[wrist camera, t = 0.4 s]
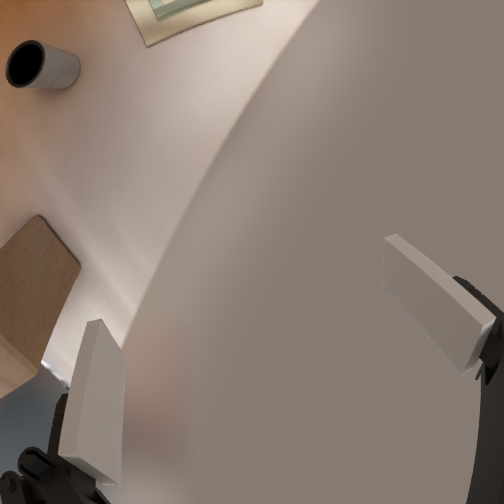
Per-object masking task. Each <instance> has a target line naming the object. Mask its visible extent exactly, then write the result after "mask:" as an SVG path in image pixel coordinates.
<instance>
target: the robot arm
mask: <svg viewBox="0 0 504 504" xmlns="http://www.w3.org/2000/svg"><path fill="white" fill-rule="evenodd" d="M382 266H383V267H382V284H381V285H382V286H383V287H384V289H385V290H386V291H387V292H388V293H389V294H390V295H391V296H392V297H393V298H394V299H395V300H396V301H397V303H398V304H399V305H400V306H401V307H402V308H403V309H404V310H405V311H406V312H407V314H409V316H410V317H411V318H412V319H413V320H414V321H415V322H416V324H417V325H418V326H419V327H420V328H421V329H422V330H423V331H424V333H425V334H426V335H427V336H428V337H429V338H430V340H431V341H432V342H433V343H434V344H435V345H436V347H437V348H438V349H439V350H440V351H441V352H442V354H443V355H444V356H445V357H446V358H447V359H448V361H449V362H450V363H451V364H452V366H453V367H454V368H455V369H456V370H457V372H458V373H459V374H460V375H461V376H462V375H464V374H465V373H467V372H468V371H470V370H471V369H473V368H474V367H475V365H476V363H477V361H478V359H479V358H480V359H481V360H482V361H483V363H482V365H481V367H480V369H479V371H478V373H477V375H476V378H475V380H477V379H478V378H479V376H480V374H481V403H480V420H479V430H478V440H477V448H476V456H475V462H474V468H473V474H472V479H471V485H470V489H469V493H468V498H467V502H466V504H504V313H503V312H502V311H501V310H500V309H499V308H498V307H496V305H494V304H493V303H492V302H491V301H490V300H489V299H488V298H487V297H485V296H484V295H482V294H481V292H480V291H478V290H477V289H475V287H474V286H473V285H471V284H470V283H469V282H468V281H467V280H464V279H462V278H460V277H457V276H455V277H453V278H452V277H450V276H449V275H448V274H447V273H446V272H444V271H443V270H442V269H441V268H439V267H438V266H437V265H436V264H435V263H433V262H432V261H431V260H429V259H428V258H427V257H426V256H424V255H423V254H422V253H421V252H419V251H418V250H417V249H416V248H414V247H413V246H412V245H411V244H409V243H408V242H406V241H405V240H404V239H402V238H401V237H400V236H399V235H397V234H394V235H391V236H387V237H384V238H383V264H382ZM127 361H128V360H127V358H126V357H125V356H124V354H123V352H122V351H121V349H120V348H119V346H118V345H117V343H116V341H115V340H114V338H113V337H112V335H111V333H110V332H109V330H108V329H107V327H106V325H105V324H104V322H103V320H102V319H98V320H94V321H90V322H87V325H86V329H85V332H84V335H83V339H82V342H81V346H80V349H79V353H78V357H77V361H76V365H75V369H74V373H73V377H72V381H71V385H70V390H69V393H67V394H62V396H61V398H60V399H59V401H58V403H57V404H56V409H55V413H54V416H55V417H54V419H53V423H52V424H53V426H52V428H51V434H50V440H49V445H48V451H47V454H45V453H44V452H43V451H41V450H40V449H39V448H36V447H28V448H27V449H25V450H24V451H23V452H22V453H21V455H20V457H19V459H18V470H19V472H20V473H21V474H23V475H24V476H20V475H18V474H17V473H16V472H13V471H7V472H5V473H4V474H3V475H2V477H1V478H0V495H1V500H2V504H111V503H110V502H109V501H108V500H107V499H106V497H105V496H104V495H103V494H102V493H101V491H100V490H98V488H96V487H95V483H96V480H97V481H98V482H100V483H101V484H103V485H121V451H122V425H123V406H124V393H125V381H126V370H127Z"/></svg>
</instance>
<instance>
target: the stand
mask: <svg viewBox="0 0 504 504" xmlns="http://www.w3.org/2000/svg"><path fill="white" fill-rule="evenodd" d="M126 3H127V5H128V7H129V9H130V11H131V13H132V15H133V17H134V20H135V22H136V24H137V26H138V28H139V30H140V32H141V34H142V37H143V39H144V41H145V43H146V45H147V47H150V46H152V45H154V44H156V43H158V42H160V41H162V40H165V39H167V38H169V37H171V36H174V35H176V34H178V33H181V32H183V31H186V30H188V29H191V28H193V27H196V26H198V25H201V24H204V23H206V22H209V21H212V20H215V19H218V18H220V17H223V16H226V15H230V14H233V13H236V12H239V11H242V10H246V9H249V8H253V7H257V6H260V5H262V4H263V1H262V0H126Z"/></svg>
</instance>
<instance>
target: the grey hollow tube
mask: <svg viewBox="0 0 504 504" xmlns="http://www.w3.org/2000/svg"><path fill="white" fill-rule="evenodd" d="M79 72H80V63H79V60H78V59H77V57H76V56H74V55H73V54H70V53H68V52H65V51H63V50H60V49H58V48H55V47H52V46H50V45H47V44H44V43H41V42H38V41H35V40H29V41H26V42H23V43H22V44H20V45H19V46H17V47H16V48H15V49H14V51H13V52H12V53H11V55H10V56H9V59H8V61H7V64H6V78H7V80H8V82H9V83H10V84H11V85H12V86H13V87H16V88H40V89H64V88H67V87H69V86H70V85H72V84H73V83H74V82H75V80H76V79H77V77H78V75H79Z"/></svg>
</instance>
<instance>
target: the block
mask: <svg viewBox="0 0 504 504" xmlns="http://www.w3.org/2000/svg"><path fill="white" fill-rule="evenodd" d="M80 270H81V269H80V265H79V263H78V262H77V261H76V260H75V259H74V257H73V256H72V255H71V254H70V253H69V252H68V250H67V249H66V248H65V247H64V246H63V244H62V243H61V242H60V241H59V239H58V238H57V237H56V236H55V234H54V233H53V232H52V231H51V229H50V228H49V227H48V225H47V224H46V223H45V222H44V220H43V219H42V218H41V217H39V216H36V217H33V218H31V219H30V220H29V221H28V222H27V223H26V224H25V225H24V226H23V227H22V228H21V229H20V230H19V231H18V232H17V233H16V234H15V235H14V236H13V237H12V238H11V239H10V240H9V241H8V242H7V243H6V244H5V245H4V246H3V247H2V248H1V249H0V398H1V397H3V396H5V395H6V394H8V393H9V392H11V391H12V390H14V389H16V388H17V387H19V386H20V385H22V384H24V383H25V382H27V381H28V380H30V379H32V378H33V377H34V376H35V375H36V374H37V371H38V368H39V365H40V363H41V360H42V357H43V355H44V352H45V349H46V347H47V344H48V342H49V339H50V337H51V334H52V332H53V329H54V327H55V324H56V322H57V320H58V317H59V315H60V313H61V310H62V308H63V306H64V304H65V301H66V299H67V297H68V295H69V293H70V291H71V289H72V286H73V284H74V282H75V280H76V278H77V276H78V274H79V272H80Z"/></svg>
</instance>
